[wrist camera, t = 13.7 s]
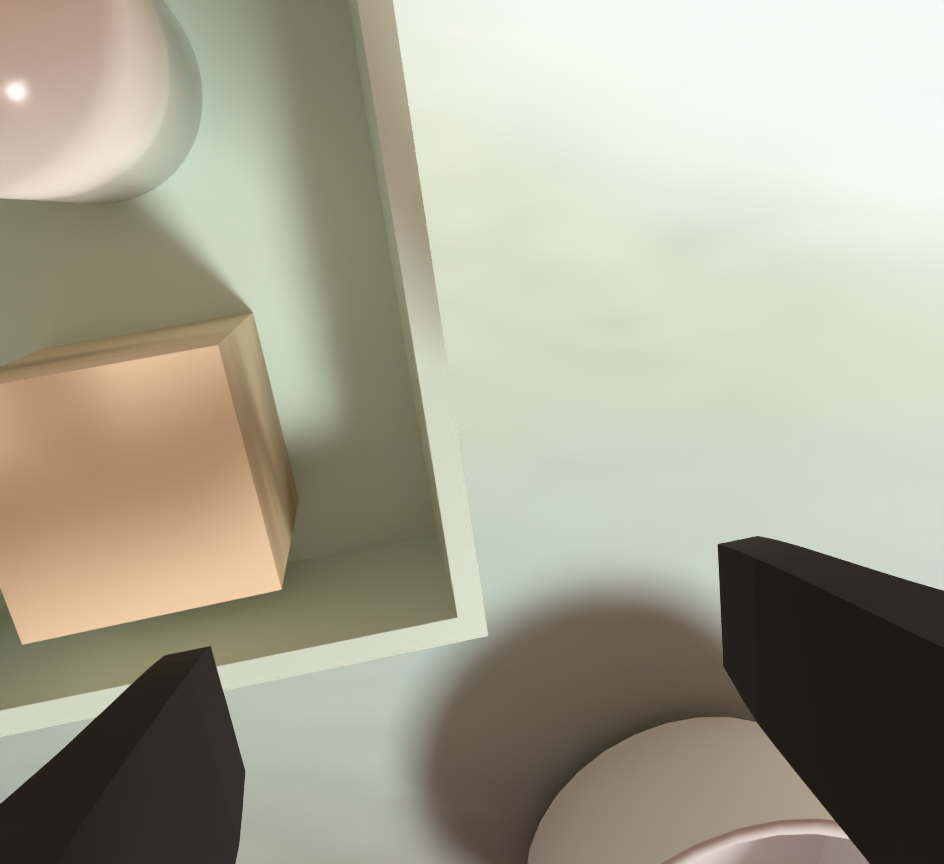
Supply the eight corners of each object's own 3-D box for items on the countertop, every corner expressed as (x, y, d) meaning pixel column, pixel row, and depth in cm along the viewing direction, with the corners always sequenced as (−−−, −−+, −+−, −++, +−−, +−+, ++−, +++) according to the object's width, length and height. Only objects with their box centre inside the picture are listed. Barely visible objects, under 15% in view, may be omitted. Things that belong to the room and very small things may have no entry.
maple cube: (298, 500, 20) (281, 589, 15) (103, 539, 19) (21, 644, 15) (252, 312, 18) (217, 344, 14) (40, 349, 18) (-73, 396, 13)
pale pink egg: (224, 188, 17) (146, 171, 11) (-2, 217, 17) (-232, 215, 10) (173, -56, 16) (45, -251, 9) (-76, -34, 15) (-399, -224, 9)
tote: (458, 542, 21) (488, 635, 17) (-31, 637, 20) (-151, 768, 15) (345, -174, 16) (342, -334, 12) (-317, -115, 15) (-630, -269, 10)
